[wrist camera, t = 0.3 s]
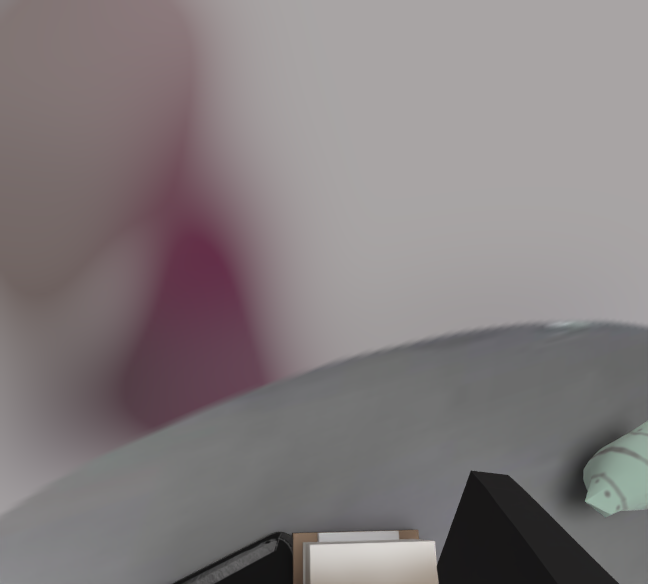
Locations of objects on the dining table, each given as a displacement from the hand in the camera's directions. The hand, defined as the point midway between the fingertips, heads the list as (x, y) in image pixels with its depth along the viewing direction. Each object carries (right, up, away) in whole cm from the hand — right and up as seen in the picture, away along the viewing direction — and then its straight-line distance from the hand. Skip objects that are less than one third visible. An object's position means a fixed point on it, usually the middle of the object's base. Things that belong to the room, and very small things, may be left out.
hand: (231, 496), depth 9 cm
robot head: (+21, -10, +32) cm, 39 cm away
